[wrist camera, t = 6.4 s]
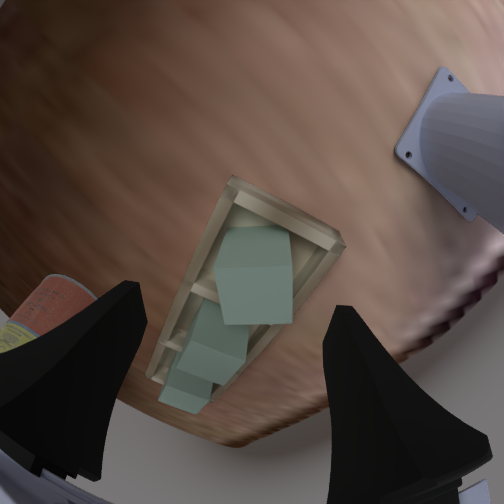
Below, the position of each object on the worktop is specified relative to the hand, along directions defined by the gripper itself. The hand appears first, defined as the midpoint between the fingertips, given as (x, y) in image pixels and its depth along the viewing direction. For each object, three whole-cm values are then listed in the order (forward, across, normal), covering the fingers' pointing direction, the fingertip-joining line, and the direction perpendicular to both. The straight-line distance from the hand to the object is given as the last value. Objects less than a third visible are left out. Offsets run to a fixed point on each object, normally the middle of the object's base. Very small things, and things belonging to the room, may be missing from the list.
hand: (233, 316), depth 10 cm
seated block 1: (+9, +5, +16) cm, 19 cm away
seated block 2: (+9, +2, +9) cm, 13 cm away
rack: (+10, +2, +9) cm, 14 cm away
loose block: (+9, -1, +3) cm, 10 cm away
